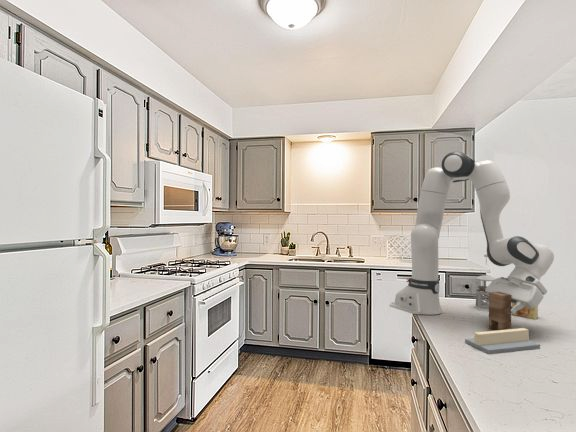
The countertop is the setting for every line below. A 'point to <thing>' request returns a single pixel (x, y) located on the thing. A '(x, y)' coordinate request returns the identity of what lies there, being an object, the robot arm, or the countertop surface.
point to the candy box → (527, 312)
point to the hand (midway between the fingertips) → (500, 308)
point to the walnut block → (499, 311)
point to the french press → (479, 299)
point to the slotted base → (504, 346)
